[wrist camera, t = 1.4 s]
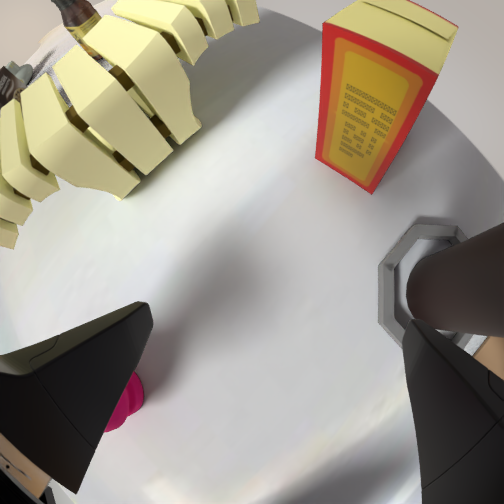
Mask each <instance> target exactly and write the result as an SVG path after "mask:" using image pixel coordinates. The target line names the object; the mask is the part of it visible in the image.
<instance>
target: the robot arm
mask: <svg viewBox="0 0 504 504" xmlns="http://www.w3.org/2000/svg"><path fill="white" fill-rule="evenodd" d="M152 328H153V319H152V315H151V311H150V307H149V305H148V303H146V302H140V301H137V302H134V303H132V304H130V305H127V306H125V307H123V308H120V309H118V310H116V311H113V312H111V313H109V314H106V315H104V316H101V317H99V318H97V319H94V320H92V321H90V322H87V323H85V324H83V325H80V326H78V327H76V328H73V329H71V330H68V331H66V332H64V333H61V334H60V335H57V336H54V337H52V338H49V339H47V340H44V341H42V342H39V343H37V344H34V345H31V346H28V347H25V348H22V349H19V350H16V351H13V352H11V353H8V354H4V355H0V504H56V503H55V500H54V496H53V493H52V489H51V488H50V487H49V486H48V485H49V483H50V481H51V480H52V478H53V479H54V480H55V481H57V482H58V483H60V484H61V485H62V486H64V487H65V488H67V489H68V490H70V491H71V492H73V493H74V494H77V492H78V490H79V488H80V485H81V483H82V481H83V478H84V476H85V474H86V471H87V469H88V467H89V464H90V462H91V460H92V457H93V455H94V453H95V450H96V448H97V446H98V444H99V442H100V439H101V437H102V435H103V433H104V431H105V429H106V427H107V424H108V422H109V420H110V418H111V416H112V414H113V412H114V410H115V408H116V406H117V404H118V402H119V400H120V398H121V396H122V394H123V392H124V390H125V388H126V386H127V384H128V382H129V380H130V378H131V376H132V374H133V372H134V370H135V368H136V366H137V364H138V362H139V360H140V358H141V355H142V353H143V350H144V348H145V345H146V343H147V340H148V338H149V335H150V333H151V330H152ZM402 349H403V356H404V364H405V373H406V381H407V387H408V392H409V397H410V402H411V407H412V412H413V418H414V424H415V431H416V437H417V445H418V453H419V462H420V473H421V488H422V504H504V380H503V379H501V378H500V377H499V376H497V375H496V374H495V373H493V372H492V371H491V370H488V368H487V367H486V366H484V365H483V364H482V363H480V362H479V361H478V360H476V359H475V358H474V357H472V356H471V355H470V354H468V353H467V352H466V351H464V350H463V349H462V348H460V347H459V346H458V345H456V344H455V343H453V342H452V341H451V340H449V339H448V338H447V337H445V336H444V335H442V334H441V333H440V332H438V331H437V330H435V329H434V328H433V327H431V326H430V325H428V324H427V323H425V322H424V321H423V320H421V319H411V320H409V322H408V324H407V327H406V330H405V333H404V336H403V339H402Z"/></svg>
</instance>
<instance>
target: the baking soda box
mask: <svg viewBox="0 0 504 504" xmlns="http://www.w3.org/2000/svg"><path fill="white" fill-rule="evenodd" d="M457 30H458V26H457V25H455V24H453V23H451V22H450V21H448V20H447V19H444V18H443V17H441V16H439V15H438V14H436V13H434V12H432V11H430V10H428V9H426V8H424V7H422V6H420V5H418V4H416V3H414V2H412V1H410V0H357V1H356V2H354V3H352V4H351V5H349V6H348V7H346V8H344V9H343V10H341V11H340V12H338V13H337V14H335V15H334V16H332V17H331V18H330V19H328V20H327V21H325V22H324V23H323V30H322V66H321V87H320V103H319V118H318V131H317V142H316V153H315V158H316V159H317V160H319V161H321V162H322V163H324V164H325V165H327V166H329V167H330V168H332V169H334V170H335V171H337V172H338V173H340V174H341V175H343V176H345V177H346V178H348V179H349V180H351V181H352V182H354V183H355V184H357V185H358V186H360V187H361V188H363V189H364V190H366V191H367V192H369V193H370V194H371V195H372V193H373V192H374V190H375V189H376V187H377V185H378V184H379V182H380V181H381V179H382V177H383V176H384V174H385V172H386V171H387V169H388V168H389V166H390V164H391V163H392V161H393V159H394V158H395V156H396V154H397V152H398V151H399V149H400V147H401V146H402V144H403V142H404V140H405V139H406V137H407V135H408V133H409V131H410V130H411V128H412V126H413V124H414V122H415V121H416V119H417V117H418V115H419V113H420V111H421V109H422V108H423V106H424V104H425V102H426V100H427V98H428V96H429V94H430V92H431V90H432V88H433V86H434V84H435V82H436V80H437V78H438V76H439V73H440V71H441V69H442V67H443V64H444V62H445V60H446V57H447V55H448V53H449V50H450V48H451V45H452V43H453V40H454V37H455V35H456V32H457Z"/></svg>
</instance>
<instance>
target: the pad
mask: <svg viewBox="0 0 504 504" xmlns="http://www.w3.org/2000/svg"><path fill="white" fill-rule="evenodd" d="M472 357H474V358H475V359H476V360H478V361H479V362H480V363H482V364H483V365H484V366H486V367H487V368H488V370H491V371H492V372H493V373H495V374H496V375H497V376H499V377H500V378H501V379H503V380H504V338H501V337H492V336H488V337H487V338H486V340H485V341H484V342H483V344H482V345H481V346H480V347H479V349H478V350H477V351H476V352H475V354H474V355H473V356H472Z"/></svg>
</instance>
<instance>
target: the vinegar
mask: <svg viewBox="0 0 504 504" xmlns="http://www.w3.org/2000/svg"><path fill="white" fill-rule="evenodd" d="M406 298H407V303H408V308H409V310H410V312H411V314H412V315H413V317H414V318H415V319H421V320H423V321H424V322H425V323H427V324H428V325H430V326H431V327H433V328H434V329H439V330H445V331H453V332H460V333H467V334H475V335H484V336H492V337H501V338H504V223H502V224H500V225H498V226H496V227H493V228H491V229H489V230H487V231H485V232H483V233H481V234H479V235H476V236H474V237H472V238H470V239H468V240H465V241H463V242H461V243H459V244H456V245H454V246H452V247H449V248H447V249H445V250H442V251H440V252H438V253H435V254H433V255H430V256H428V257H426V258H424V259H422V260H421V261H420V262H419V263H417V264H416V266H415V267H414V269H413V270H412V272H411V273H410V276H409V279H408V282H407V290H406Z"/></svg>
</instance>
